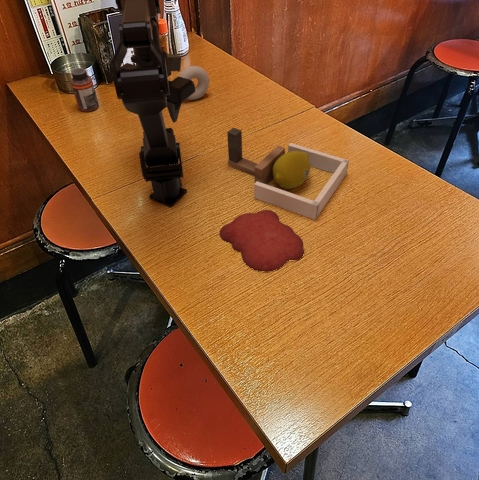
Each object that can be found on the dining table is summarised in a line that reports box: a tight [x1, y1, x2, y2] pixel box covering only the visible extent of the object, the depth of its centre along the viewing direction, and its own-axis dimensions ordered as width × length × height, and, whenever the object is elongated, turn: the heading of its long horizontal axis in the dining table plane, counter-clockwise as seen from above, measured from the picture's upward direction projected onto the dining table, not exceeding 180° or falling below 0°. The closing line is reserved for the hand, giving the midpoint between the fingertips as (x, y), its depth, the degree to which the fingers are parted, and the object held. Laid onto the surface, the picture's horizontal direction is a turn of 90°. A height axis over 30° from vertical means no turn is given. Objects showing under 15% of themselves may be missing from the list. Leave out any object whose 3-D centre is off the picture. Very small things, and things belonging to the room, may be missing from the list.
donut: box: [178, 65, 210, 101], centre depth 133 cm, size 10×4×10 cm, turn 117°
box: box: [253, 142, 350, 221], centre depth 105 cm, size 18×15×4 cm
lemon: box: [273, 151, 311, 190], centre depth 104 cm, size 11×8×8 cm
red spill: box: [219, 209, 305, 272], centre depth 94 cm, size 18×14×2 cm
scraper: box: [226, 127, 286, 185], centre depth 108 cm, size 10×12×10 cm
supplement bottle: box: [70, 67, 100, 113], centre depth 130 cm, size 6×6×11 cm
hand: (158, 116), depth 105 cm, fingers open, 9 cm apart
